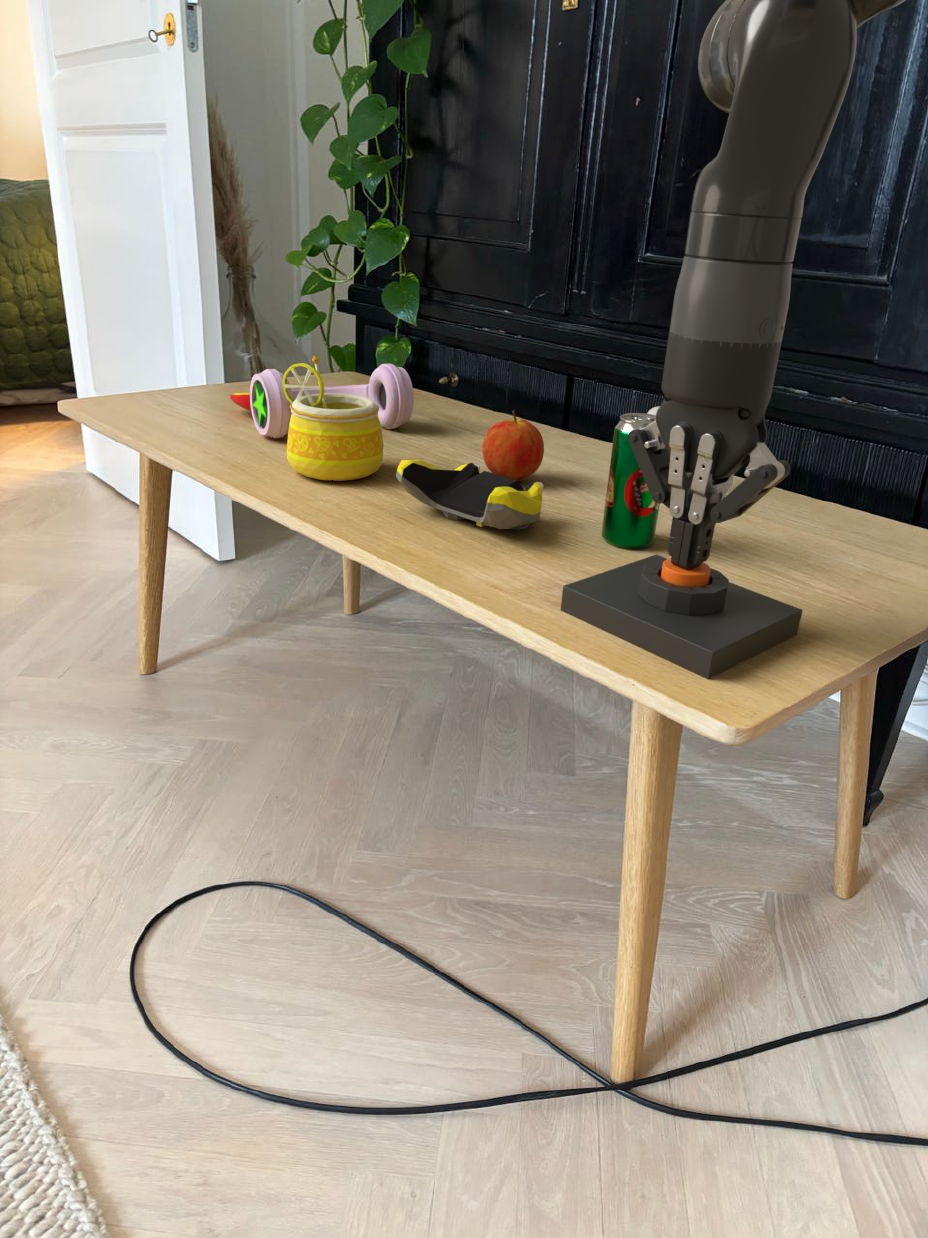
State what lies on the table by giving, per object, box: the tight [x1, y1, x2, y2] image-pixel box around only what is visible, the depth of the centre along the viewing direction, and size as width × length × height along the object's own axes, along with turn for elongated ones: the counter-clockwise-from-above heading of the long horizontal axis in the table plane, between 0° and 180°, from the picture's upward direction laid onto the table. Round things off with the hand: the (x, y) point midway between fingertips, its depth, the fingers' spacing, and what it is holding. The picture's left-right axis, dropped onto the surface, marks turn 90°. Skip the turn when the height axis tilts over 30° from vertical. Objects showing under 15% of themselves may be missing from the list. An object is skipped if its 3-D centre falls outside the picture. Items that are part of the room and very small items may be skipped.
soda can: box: [601, 412, 660, 550], centre depth 85 cm, size 5×5×12 cm
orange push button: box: [661, 557, 711, 587], centre depth 70 cm, size 4×4×2 cm
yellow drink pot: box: [282, 355, 384, 482], centre depth 102 cm, size 13×11×12 cm
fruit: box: [482, 409, 545, 482], centre depth 103 cm, size 7×7×8 cm
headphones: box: [229, 363, 415, 439], centre depth 122 cm, size 20×10×20 cm
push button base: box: [560, 554, 803, 680], centre depth 71 cm, size 14×12×4 cm
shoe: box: [395, 459, 544, 531], centre depth 90 cm, size 15×6×10 cm
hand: (685, 564), depth 70 cm, fingers closed
